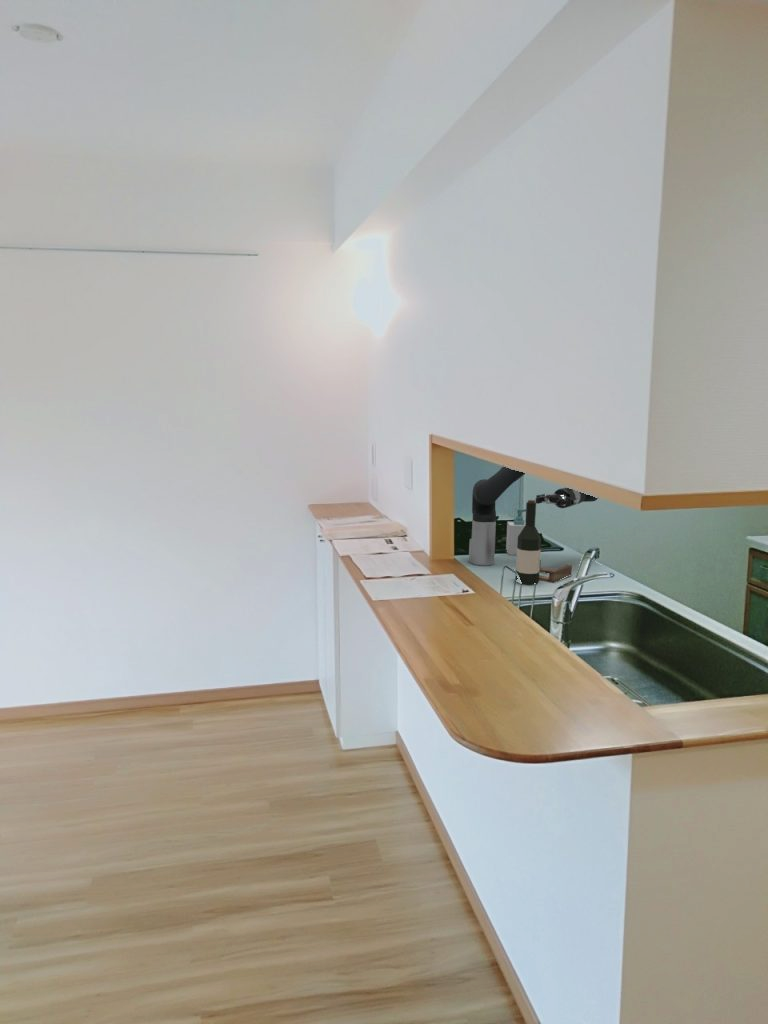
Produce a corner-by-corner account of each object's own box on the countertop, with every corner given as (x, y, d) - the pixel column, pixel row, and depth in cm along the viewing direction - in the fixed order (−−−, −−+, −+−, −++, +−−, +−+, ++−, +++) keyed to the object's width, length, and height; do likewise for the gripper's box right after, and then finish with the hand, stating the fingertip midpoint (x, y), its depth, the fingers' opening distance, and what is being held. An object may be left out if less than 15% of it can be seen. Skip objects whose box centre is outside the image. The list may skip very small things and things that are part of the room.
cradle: (517, 575, 296) (517, 565, 295) (535, 569, 307) (536, 559, 306) (553, 582, 287) (554, 572, 286) (571, 575, 297) (571, 565, 297)
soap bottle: (529, 555, 330) (532, 510, 327) (508, 555, 330) (510, 510, 327) (526, 551, 338) (528, 507, 335) (505, 550, 338) (508, 506, 335)
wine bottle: (537, 579, 290) (542, 499, 285) (539, 585, 282) (544, 502, 277) (514, 578, 291) (518, 498, 286) (516, 584, 283) (520, 501, 278)
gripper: (550, 485, 308) (530, 490, 296) (584, 489, 299) (565, 493, 287) (549, 504, 309) (529, 509, 297) (583, 509, 300) (564, 514, 288)
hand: (547, 502), depth 292 cm, fingers open, 8 cm apart
